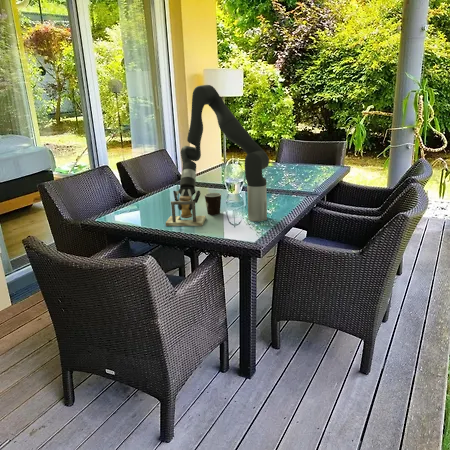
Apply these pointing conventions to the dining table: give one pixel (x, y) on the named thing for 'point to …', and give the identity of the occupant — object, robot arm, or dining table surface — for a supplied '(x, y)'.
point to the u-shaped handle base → (176, 220)
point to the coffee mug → (213, 203)
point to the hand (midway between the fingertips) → (185, 209)
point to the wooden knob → (185, 207)
